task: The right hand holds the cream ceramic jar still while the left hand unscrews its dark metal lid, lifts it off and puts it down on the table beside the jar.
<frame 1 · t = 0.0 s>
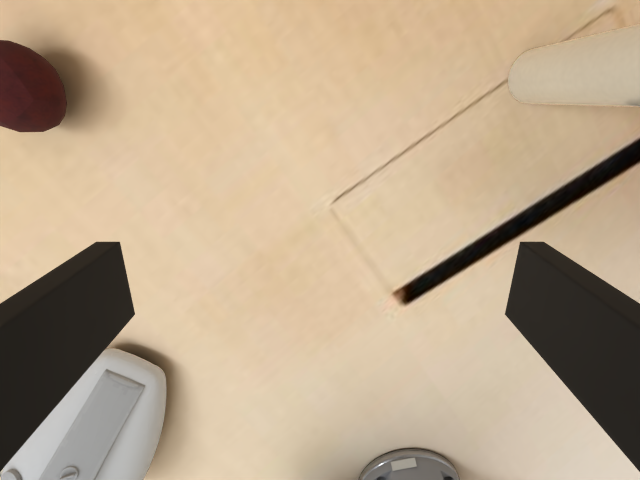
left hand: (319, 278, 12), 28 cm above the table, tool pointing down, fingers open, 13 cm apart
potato: (45, 90, 36), on the table
projector: (111, 408, 51), on the table
jar: (533, 76, 36), on the table
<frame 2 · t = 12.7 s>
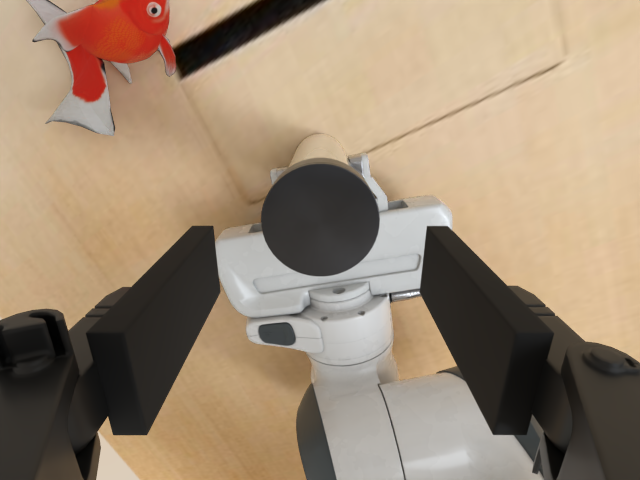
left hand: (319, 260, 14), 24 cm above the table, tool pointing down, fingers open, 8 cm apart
right hand: (317, 161, 30), fingers closed on jar, 5 cm apart
lid: (320, 221, 18), point 19 cm above the table, screwed on, not yet turned
jar: (320, 160, 36), on the table, touching right hand
fish: (126, 65, 33), on the table
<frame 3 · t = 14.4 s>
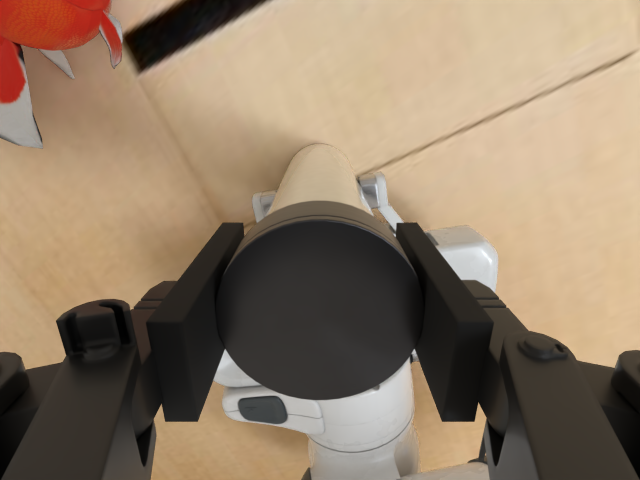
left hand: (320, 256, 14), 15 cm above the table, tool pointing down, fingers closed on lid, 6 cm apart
lid: (319, 312, 10), point 19 cm above the table, screwed on, not yet turned, touching left hand
jar: (319, 177, 28), on the table, touching right hand
fish: (66, 55, 25), on the table
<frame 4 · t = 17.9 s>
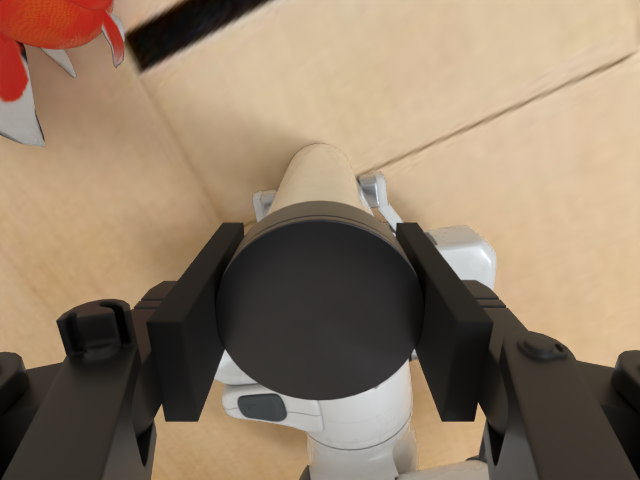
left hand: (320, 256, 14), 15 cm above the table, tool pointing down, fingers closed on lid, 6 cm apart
lid: (319, 312, 10), point 19 cm above the table, turned 123° so far, risen 0.2 cm, still on its thread, touching left hand
jar: (319, 176, 28), on the table, touching right hand
fish: (68, 54, 25), on the table
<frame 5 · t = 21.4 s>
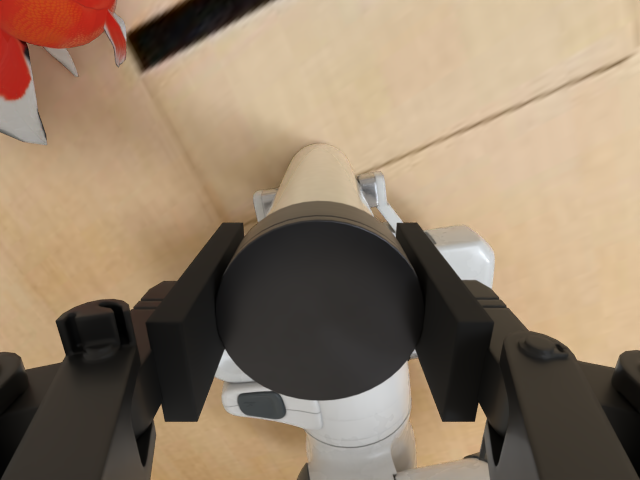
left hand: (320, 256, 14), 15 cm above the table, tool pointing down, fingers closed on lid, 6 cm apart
lid: (319, 313, 10), point 19 cm above the table, turned 246° so far, risen 0.4 cm, still on its thread, touching left hand
jar: (319, 176, 29), on the table, touching right hand
fish: (70, 53, 25), on the table
when the left hand's fingers open (0 cm above the table, at t = 32.4 s): lid drops 3 cm, point 2 cm above the table.
when the right hand's fingers open (6 cm above the table, at t = 33.1 s): jar stays where it is, on the table.
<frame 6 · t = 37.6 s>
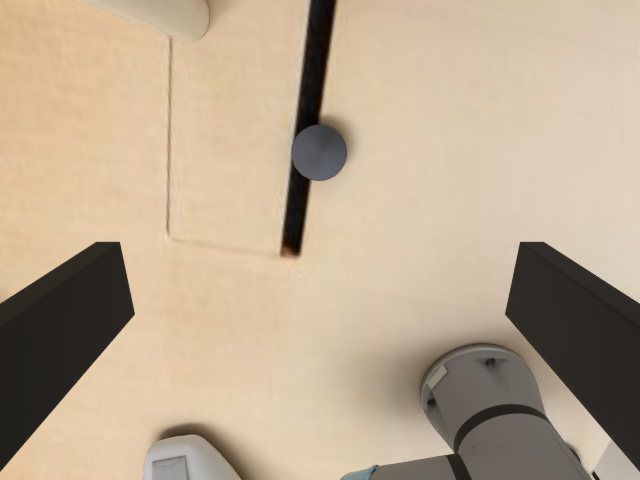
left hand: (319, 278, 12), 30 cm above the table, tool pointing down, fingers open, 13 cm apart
lid: (319, 153, 39), point 2 cm above the table, off its thread
jar: (183, 13, 35), on the table
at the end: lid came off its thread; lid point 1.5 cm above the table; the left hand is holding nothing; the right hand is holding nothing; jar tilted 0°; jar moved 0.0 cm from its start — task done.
